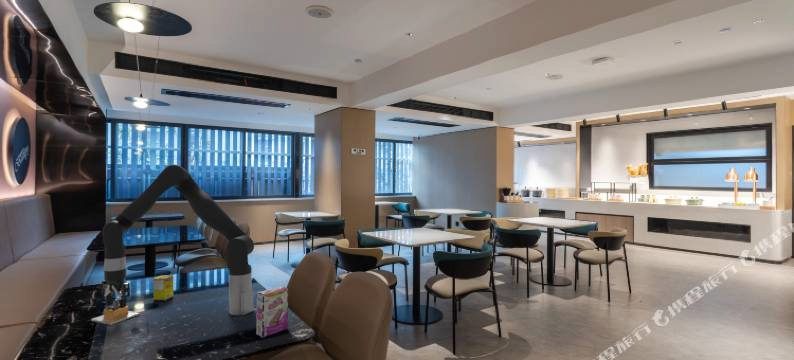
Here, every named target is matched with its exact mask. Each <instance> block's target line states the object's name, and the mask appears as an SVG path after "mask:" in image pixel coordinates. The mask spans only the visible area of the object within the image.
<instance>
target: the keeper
mask: <svg viewBox="0 0 794 360" xmlns="http://www.w3.org/2000/svg"><path fill="white" fill-rule="evenodd" d="M119 300H120V299H114V300H112V306H113V310H116V309H119V305H120V303H119ZM138 315H139V316H141V313H140V312H136V311H132V310H128V315H126V316H123V317H120V318H117V319H114V320H113V319H108V318H104V314H102V315H99V316H97V317H93V318H91V319H90V321H91V322H94V323H98V324H103V325H107V324H108V325H107V326H113V325H116V324H118V322H119V323H121V321H122V322H124V321H127V320H129V318H130V319H133V318H136V317H138ZM135 316H136V317H135ZM132 317H133V318H132ZM126 319H127V320H126ZM115 323H116V324H115ZM112 324H113V325H112Z"/></svg>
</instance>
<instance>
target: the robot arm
mask: <svg viewBox="0 0 794 360" xmlns="http://www.w3.org/2000/svg"><path fill="white" fill-rule="evenodd" d="M170 188H174V189H175V190H177V191H178V192H179V193H180V194H181V195H182V196H183V197H184V198H185V199H186V200H187V202H188V204H189V206H190V207H191V209H192V212H194V214H196V216H197V217H198V218H199V219H200V220H201V221H202V222H203V223H204V225H206V226H207V227H209V228H210V229H213V230H214V231H216V232H217V233H220V234H221V235H222V236H224V238H226V239H227V241H228V243H227V245H226V250H225V252H226V253H225V254H226V268H227V270H228V313H229V315H231V316H245V315H247V314H249V313H252V312H253V311H255V309H254V289H252V286H253V285H252V270H253V269H252V266H251V264H249V255H251V254H252V253H253V251H254V249H255V244H254V240H253V239H252V237H250V236H249V235H248V234H247V233H246V232H245V231H243V230H242V229H241V228H240V227H239V226H238V225H237V224H236V223H235V221H233V220H232V218H231V217H230V216H229V215H228V214H227V213H226V212H225V211H224V210H223V209H222V207H221V206H220V205H219V204H218V203H217V202H216V201H215V200H214V199H213V198H212V197H211V196H210V195H209V194H208V193H206V192H205V191H204V190H203V189H202V188H201V187H200V186H199V184H198V183H197V182H196V181H195V179H193V177H192V175H191V174H190V172H189V171H188V170H187V169H186V168H184V167H182V166H180V165H178V164H169V165H168V166H166V167H165V168H164V169H163V170H162V171H161V172H160V173H159V174H158V176H157V177H156V178H155V179H154V180H153V181H152V183H151V184H150V185H149V186H147V188H146V189H145V190H144V191H143V192H141V194H140V195H138V196H137V198H136V199H134V200H133V201H131V202H130V203H129V204H128V205H127V206H126V207H124V209H123V210H122V211H121V213H120V214H119V215H117V216H116V217H115V218H114V219H112V220H111V221H108V222H106V223H105V224H104V226H103V227H102V232H101V233H102V242H103V244H104V261H103V262H104V263H103V270H104V272H103V274H104V276H103V278H104V280H102V281H101V295H102V296H104V297H105V306H111V305H112V306H113V294H115V295H116V296H117V297H118V298H119V299H118V300H119V305H120V308H124V307H126V306H127V298H130V297H131V288H130V287H131V286H130V285H131V283H130V282H126V283H125V281H124V280H126V278H127V259H126V245H125V243H124V234H125V233H126V232H127V231H128V230H129V229H130V228H131V227H132V226H133V225H134V224H135V223H137V222H138V221H139V220H140V219H142V217H144V216H145V215H146V214H147V213H149V211H150V210H151V209H152V208H153V207H154V205H155V204H156V202H157V201H158V200H159V198H160V197H161V196H162V195H164V193H165V192H167V191H168V190H169V189H170Z"/></svg>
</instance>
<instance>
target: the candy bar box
mask: <svg viewBox="0 0 794 360" xmlns="http://www.w3.org/2000/svg"><path fill="white" fill-rule="evenodd" d="M288 309H289V288H287V287H285V286H281V285H280V286H277V287H276V286H275V287H273V288H268V289H264V290H262V291H257V292H256V310H255V311H256V315H255V316H256V325H255V326H256V329H255V332H256V333H255V334H256V335H257V336H258V337H259V338H262V339H263V338H267V337H269V336H272V335H275V334H278V333H280V332H283V331H286V330H288V328H289V326H288V322H289V318H288V317H289V315H288V314H289V310H288Z"/></svg>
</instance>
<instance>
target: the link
mask: <svg viewBox="0 0 794 360" xmlns="http://www.w3.org/2000/svg"><path fill="white" fill-rule="evenodd" d="M128 311H129V306H128V305H126V307H124V308H120V304H119V309H116V310H113V305H112V306H110V307H106V308H104V309H103V315H104V318H108V319H113V320H114V319H117V318H120V317H123V316H126V315H128Z"/></svg>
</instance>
